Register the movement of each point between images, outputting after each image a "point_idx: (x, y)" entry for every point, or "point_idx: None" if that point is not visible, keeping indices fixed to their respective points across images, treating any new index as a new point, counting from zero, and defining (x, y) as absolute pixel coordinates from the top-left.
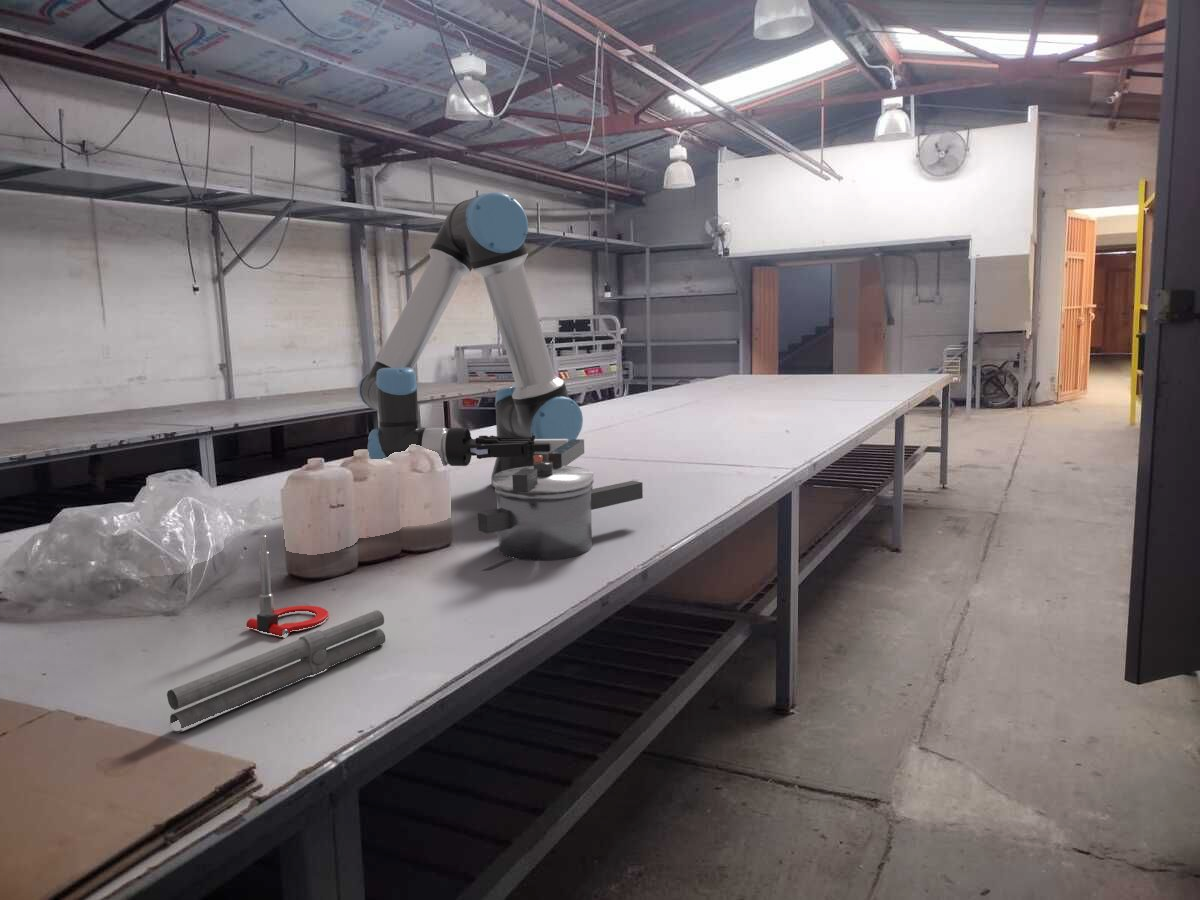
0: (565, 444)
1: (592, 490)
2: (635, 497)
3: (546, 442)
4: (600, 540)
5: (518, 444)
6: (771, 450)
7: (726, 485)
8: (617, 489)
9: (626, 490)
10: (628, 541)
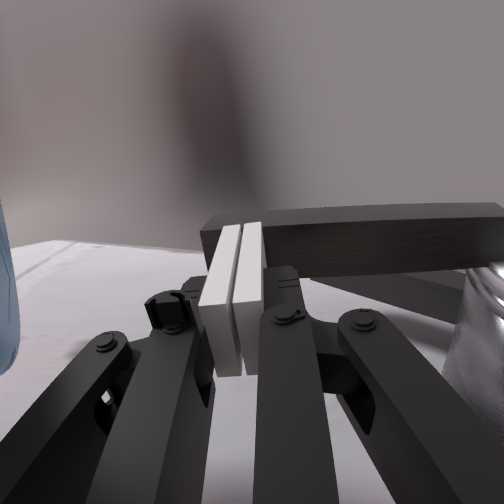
0: (332, 219)
1: (428, 274)
2: None
3: (262, 271)
4: (446, 334)
5: (412, 351)
6: None
7: (109, 267)
8: None
9: None
10: None
